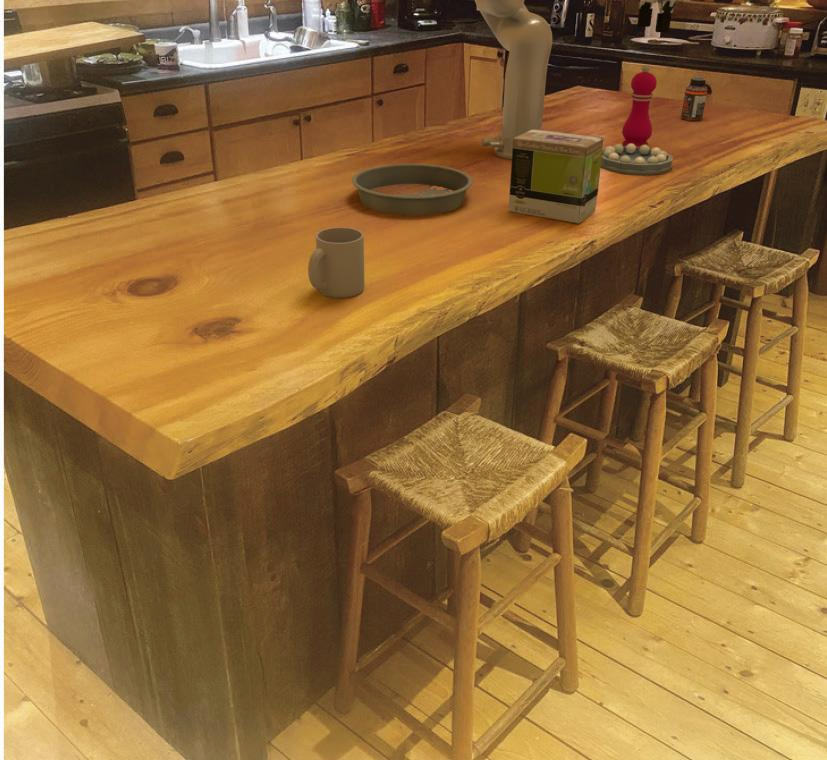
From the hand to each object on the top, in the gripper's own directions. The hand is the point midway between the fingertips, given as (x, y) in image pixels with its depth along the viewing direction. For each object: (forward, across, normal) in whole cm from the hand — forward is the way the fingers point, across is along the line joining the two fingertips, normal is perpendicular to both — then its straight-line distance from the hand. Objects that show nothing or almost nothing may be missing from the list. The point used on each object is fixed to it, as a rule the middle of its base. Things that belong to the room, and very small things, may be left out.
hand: (652, 29), depth 195 cm
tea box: (+28, +44, -38) cm, 64 cm away
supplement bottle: (+29, -30, +30) cm, 51 cm away
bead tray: (+28, +14, -7) cm, 32 cm away
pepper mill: (+28, 0, -1) cm, 28 cm away
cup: (+27, +76, -85) cm, 117 cm away
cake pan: (+28, +31, -64) cm, 76 cm away
